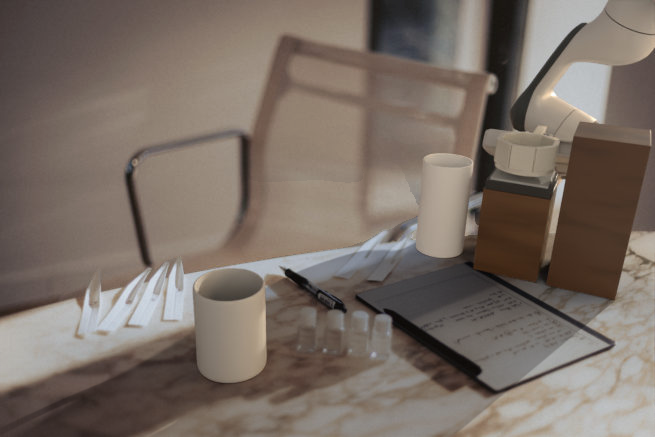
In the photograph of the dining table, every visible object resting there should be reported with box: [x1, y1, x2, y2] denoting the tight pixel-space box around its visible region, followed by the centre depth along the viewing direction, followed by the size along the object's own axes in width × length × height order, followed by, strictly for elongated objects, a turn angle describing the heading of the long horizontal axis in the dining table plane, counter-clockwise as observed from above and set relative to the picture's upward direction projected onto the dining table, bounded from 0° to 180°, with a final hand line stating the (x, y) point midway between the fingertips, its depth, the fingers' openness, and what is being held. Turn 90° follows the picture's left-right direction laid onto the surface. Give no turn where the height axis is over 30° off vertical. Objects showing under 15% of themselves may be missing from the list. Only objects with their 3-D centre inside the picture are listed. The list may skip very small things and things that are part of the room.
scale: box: [484, 166, 558, 199], centre depth 98 cm, size 10×10×2 cm
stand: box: [472, 121, 652, 301], centre depth 97 cm, size 10×22×24 cm, turn 65°
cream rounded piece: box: [493, 125, 560, 177], centre depth 102 cm, size 22×9×4 cm, turn 155°
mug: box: [192, 267, 268, 384], centre depth 76 cm, size 12×8×11 cm
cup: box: [415, 152, 474, 259], centre depth 106 cm, size 8×8×16 cm
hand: (537, 136), depth 107 cm, fingers closed on cream rounded piece, 2 cm apart
